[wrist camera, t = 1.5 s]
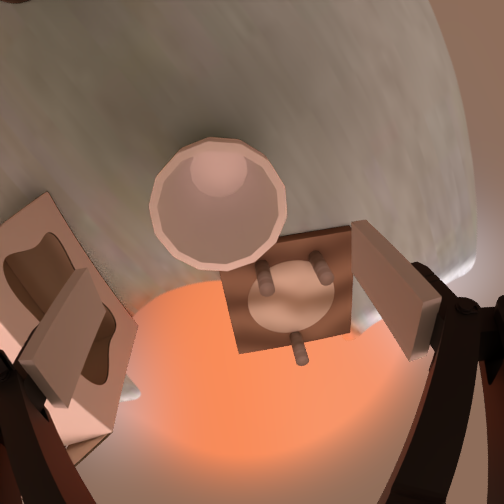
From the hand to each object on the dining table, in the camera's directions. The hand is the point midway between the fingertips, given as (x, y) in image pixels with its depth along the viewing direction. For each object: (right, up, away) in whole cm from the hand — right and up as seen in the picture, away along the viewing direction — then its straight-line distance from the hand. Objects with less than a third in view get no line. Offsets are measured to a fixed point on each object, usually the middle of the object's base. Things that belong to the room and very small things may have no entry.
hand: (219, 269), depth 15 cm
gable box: (-24, -3, +22) cm, 33 cm away
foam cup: (-2, +10, +18) cm, 21 cm away
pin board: (+6, -4, +26) cm, 27 cm away
